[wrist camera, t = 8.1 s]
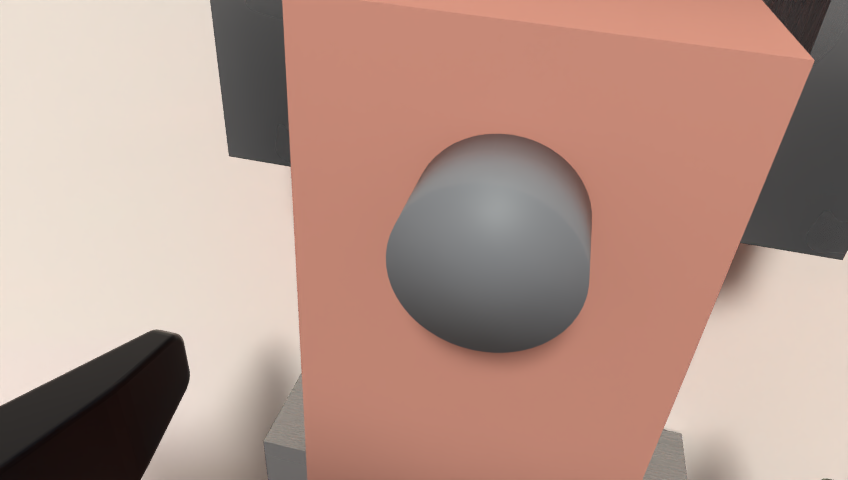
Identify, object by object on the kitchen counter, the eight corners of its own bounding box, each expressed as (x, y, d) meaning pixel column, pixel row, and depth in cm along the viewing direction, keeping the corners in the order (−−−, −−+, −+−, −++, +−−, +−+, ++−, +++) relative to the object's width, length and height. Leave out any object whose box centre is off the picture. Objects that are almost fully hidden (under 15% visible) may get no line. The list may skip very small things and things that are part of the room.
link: (544, 512, 15) (513, 839, 10) (396, 475, 15) (301, 767, 10) (709, -59, 8) (855, 107, 3) (437, -89, 9) (226, 17, 4)
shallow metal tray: (615, 591, 16) (616, 700, 14) (320, 514, 18) (283, 604, 16) (1021, -375, 6) (1216, -471, 4) (275, -388, 8) (154, -465, 6)
